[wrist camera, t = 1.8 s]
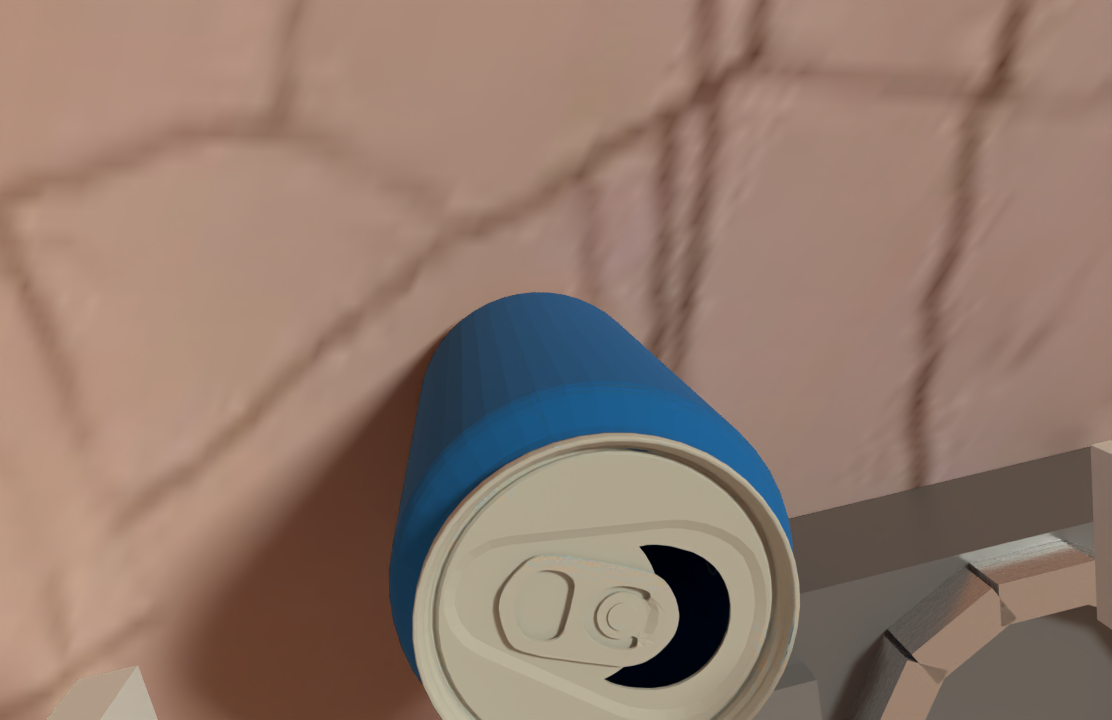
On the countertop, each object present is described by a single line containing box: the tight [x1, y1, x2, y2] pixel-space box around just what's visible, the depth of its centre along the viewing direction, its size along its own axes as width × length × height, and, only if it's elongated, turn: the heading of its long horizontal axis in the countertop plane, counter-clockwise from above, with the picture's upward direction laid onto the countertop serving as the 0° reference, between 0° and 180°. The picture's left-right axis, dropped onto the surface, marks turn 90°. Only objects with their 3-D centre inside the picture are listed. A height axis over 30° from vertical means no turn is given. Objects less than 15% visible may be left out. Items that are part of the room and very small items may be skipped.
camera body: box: [752, 447, 1112, 720], centre depth 24 cm, size 15×11×5 cm
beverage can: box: [389, 292, 800, 720], centre depth 17 cm, size 6×6×12 cm
